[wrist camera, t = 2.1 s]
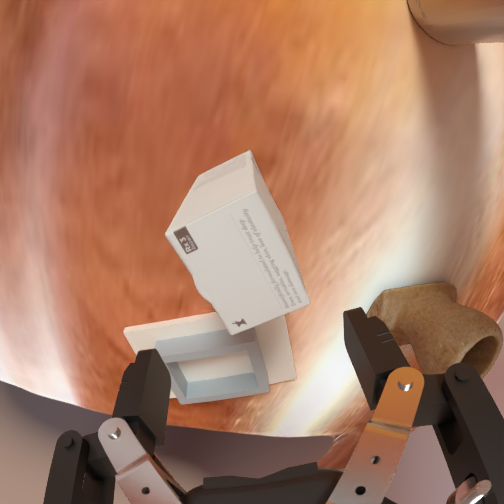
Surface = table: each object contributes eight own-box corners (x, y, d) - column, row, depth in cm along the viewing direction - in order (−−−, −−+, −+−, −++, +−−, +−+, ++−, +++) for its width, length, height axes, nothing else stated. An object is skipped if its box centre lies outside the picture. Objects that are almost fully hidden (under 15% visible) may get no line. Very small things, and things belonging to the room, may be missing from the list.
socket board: (281, 298, 37) (286, 320, 34) (295, 373, 44) (300, 394, 40) (125, 327, 38) (117, 348, 34) (165, 393, 44) (162, 414, 41)
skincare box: (284, 218, 33) (320, 307, 19) (231, 243, 33) (233, 343, 20) (247, 144, 29) (263, 188, 16) (191, 173, 30) (160, 239, 17)
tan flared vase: (462, 263, 37) (527, 329, 24) (437, 330, 42) (483, 400, 29) (369, 266, 36) (428, 355, 23) (350, 341, 41) (386, 430, 28)
